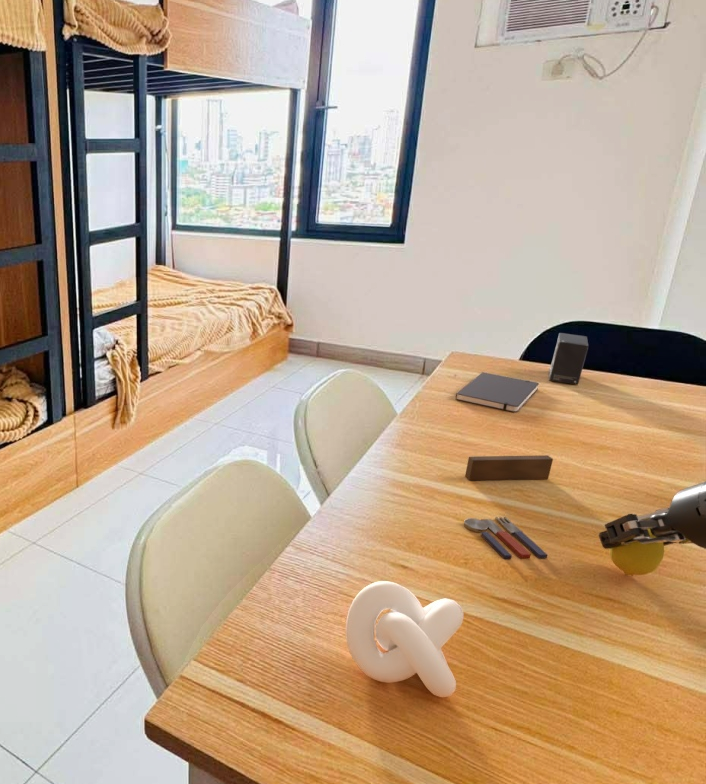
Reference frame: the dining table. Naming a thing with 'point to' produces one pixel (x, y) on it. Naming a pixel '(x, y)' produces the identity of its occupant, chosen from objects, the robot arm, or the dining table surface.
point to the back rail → (508, 467)
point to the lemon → (638, 557)
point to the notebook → (498, 392)
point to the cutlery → (505, 537)
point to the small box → (568, 358)
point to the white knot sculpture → (402, 636)
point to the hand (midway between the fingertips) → (626, 540)
